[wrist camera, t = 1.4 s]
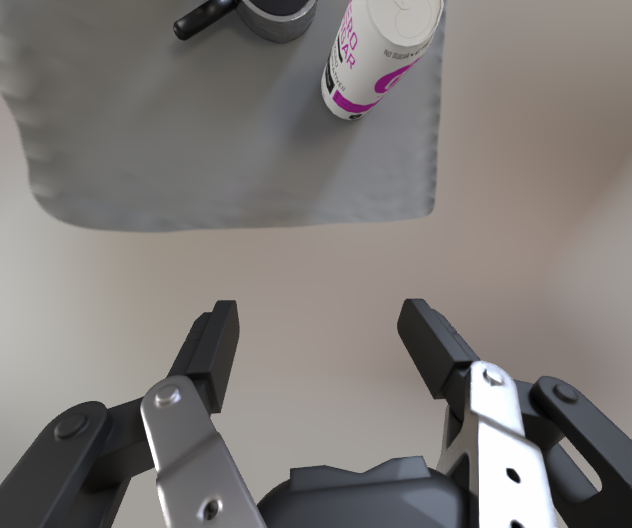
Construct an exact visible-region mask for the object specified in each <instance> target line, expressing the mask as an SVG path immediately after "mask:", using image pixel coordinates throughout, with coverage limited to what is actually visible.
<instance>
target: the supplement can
mask: <svg viewBox="0 0 632 528" xmlns="http://www.w3.org/2000/svg"><path fill="white" fill-rule="evenodd" d="M442 10H443V0H350V2H349V4H348V7H347V10H346V12H345V15H344V18H343V20H342V23H341V26H340V29H339V31H338V34H337V37H336V39H335V42H334V45H333V47H332V50H331V53H330V56H329V58H328V61H327V64H326V66H325V69H324V72H323V77H322V81H321V87H322V95H323V98H324V100H325V103H326V105H327V106H328V108H329V109H330V110H331V111H332V112H333V114H335V115H337V116H338V117H340V118H342V119H347V120H355V119H358V118H361V117H363V116H364V115H365V114H367V113H368V112H369V111H370V110H371V109H372V108H373V107H374V106H375V105H376V104H377V102H378V101H379V100H380V99H381V98H382V97H383V96H384V95H385V94H386V93H387V92H388V91H389V90H390V89H391V88H392V87H393V86H394V85H395V84H396V83H397V81H398V80H399V79H400V78H401V77H402V76H403V75H404V74H405V73H406V72H407V71H408V70H409V69H410V68H411V67H412V66H413V65H414V64H415V63H416V62H417V60H418V59H419V58H420V57H421V56H422V55H423V54H424V53H425V51H426V50H427V48H428V46H429V45H430V43H431V42H432V40H433V37H434V33H435V30H436V27H437V25H438V24H439V21H440V17H441V14H442Z"/></svg>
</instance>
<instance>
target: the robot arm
mask: <svg viewBox="0 0 632 528" xmlns="http://www.w3.org/2000/svg"><path fill="white" fill-rule="evenodd" d="M239 330H240V329H239V319H238V312H237V304H236V301H235V300H221V301H217V302H216V304H215V306H214V309H213V311H212V312H204V313H203V314H202V315H201V316H200V317H199V318H198V319H196V320H195V322H194V324H193V326H192V328H191V330H190V333H189V334H188V336H187V338H186V341H185V342H184V344H183V345H182V348H181V349H180V351H179V354H178V356H177V357H176V360H175V361H174V363H173V366H172V368H171V369H170V372H169V373H168V375H167V377H166V378H165V379H163V380H161V381H160V382H158V383H156V384H155V385H154V386H153V387H152V388H150V390H149V391H148V392H147V393H146V394H145V396H143V397H141V398H139V399H136V400H133V401H130V402H127V403H124V404H121V405H118V406H115V407H112V408H109V409H107V408H106V407H105V405H104V404H103V403H101V402H97V401H89V402H85V403H81V404H78V405H76V406H73V407H71V408H69V409H68V410H66V411H65V412H63V413H61V414H60V415H58V416H57V417H56V418H55V419H53V420H52V421H51V422H50V423H49V424H48V425H47V426H46V427H45V428H44V429H43V431H42V432H41V433H40V434H39V435H38V437H37V438H36V439H35V441H34V442H33V443H32V445H31V446H30V447H29V448H28V450H27V451H26V452H25V454H24V455H23V456H22V458H21V459H20V460H19V462H18V463H17V464H16V465H15V467H14V468H13V469H12V471H11V472H10V473H9V474H8V476H7V477H6V478H5V480H4V481H3V482H2V483H1V485H0V528H111V526H112V524H113V522H114V519H115V516H116V514H117V512H118V509H119V507H120V504H121V502H122V500H123V497H124V495H125V492H126V490H127V487H128V485H129V482H130V480H131V477H133V476H135V475H138V474H140V473H142V472H144V471H147V470H149V469H152V468H154V467H156V470H157V476H158V478H157V479H156V484H157V490H158V494H159V498H160V502H161V506H162V510H163V514H164V518H165V521H166V526H167V528H558V524H557V519H556V515H555V510H554V507H555V508H556V509H557V511H558V512H559V514H560V515H561V517H562V519H563V520H564V522H565V523H566V524H567V526H568V528H632V440H631V439H629V437H628V436H626V434H624V433H623V432H622V431H621V430H620V429H619V428H618V427H617V426H616V425H615V424H614V423H613V422H612V421H611V420H610V419H608V418H607V417H606V416H605V415H604V414H603V413H602V412H601V411H600V410H599V409H598V408H597V407H595V405H594V404H592V402H590V401H589V400H588V399H587V398H586V397H585V396H584V395H583V394H582V393H581V392H580V391H578V390H577V389H575V388H574V387H573V386H571V385H570V384H568V383H566V382H564V381H562V380H560V379H557V378H555V377H550V376H542V377H540V378H539V379H538V380H537V382H536V383H535V384H531V383H527V382H523V381H518V380H515V379H512V378H511V377H510V376H509V375H508V374H507V373H506V372H505V371H504V370H502V369H501V368H499V367H498V366H496V365H494V364H492V363H489V362H485V361H481V360H480V358H479V357H478V356H477V355H476V354H475V353H474V352H473V350H472V349H471V348H470V347H469V346H468V344H467V343H466V342H465V341H464V340H463V338H462V337H461V336H460V335H459V334H457V331H456V330H455V329H454V328H453V327H452V326H451V324H450V323H449V322H448V320H447V319H446V318H445V317H444V316H443V315H441V314H440V313H439V312H437V311H436V310H434V309H431V308H430V306H429V305H428V304H427V303H426V301H425V300H424V299H406V300H405V301H404V304H403V307H402V310H401V313H400V316H399V319H398V323H397V330H398V333H399V335H400V337H401V339H402V341H403V343H404V345H405V347H406V349H407V350H408V352H409V354H410V356H411V358H412V359H413V361H414V363H415V365H416V367H417V369H418V371H419V372H420V374H421V376H422V378H423V380H424V381H425V384H426V385H427V387H428V389H429V391H430V393H431V395H432V397H433V398H434V399H446V401H447V402H448V405H447V407H446V412H445V421H444V431H443V440H442V450H441V455H440V459H439V461H438V464H437V467H436V470H434V469H432V468H429V467H427V465H426V463H425V460H424V458H423V456H413V457H403V458H393V459H390V460H388V461H386V462H384V463H382V464H380V465H378V466H376V467H374V468H372V469H370V470H368V471H366V472H364V473H356V472H352V471H347V470H343V469H338V468H334V467H330V466H325V465H323V466H312V467H302V468H291V469H290V479H289V480H287V481H285V482H283V483H281V484H279V485H278V486H276V487H275V488H273V489H272V490H271V491H270V492H269V493H268V494H266V495H265V497H263V499H262V500H261V501H260V502H259V503H258V504H257V505H256V504H255V502H254V500H253V498H252V496H251V494H250V492H249V490H248V488H247V486H246V484H245V482H244V480H243V478H242V476H241V474H240V472H239V470H238V468H237V466H236V464H235V462H234V460H233V458H232V456H231V454H230V452H229V450H228V448H227V446H226V444H225V442H224V440H223V438H222V437H221V435H220V433H219V432H217V431H216V429H215V427H214V425H213V423H212V421H211V419H210V416H211V414H212V413H221V409H222V404H223V400H224V396H225V392H226V388H227V384H228V380H229V376H230V372H231V368H232V364H233V359H234V356H235V352H236V347H237V343H238V339H239ZM565 436H566V437H567V438H568V439H569V440H570V442H571V443H572V444H573V445H574V446H575V448H576V449H577V450H578V451H579V452H580V454H581V455H582V456H583V457H584V458H585V459H586V460H587V462H588V463H589V464H590V465H591V466H592V467H593V468H594V470H595V471H596V472H597V474H598V475H599V477H600V479H601V482H602V490H601V491H600V492H598V491H597V489H596V488H595V487H594V486H593V485H592V483H591V482H590V481H589V480H588V478H587V477H586V476H585V475H584V474H583V472H582V471H581V470H580V469H579V467H578V466H577V465H576V464H575V463H574V461H573V460H572V459H571V458H570V456H569V455H568V454H567V453H566V452H565V450H564V449H563V448H562V447H561V445H560V444H559V443H558V442H559V441H560V440H562V439H563V438H564V437H565ZM553 505H554V506H553Z"/></svg>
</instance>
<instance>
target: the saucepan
mask: <svg viewBox="0 0 632 528" xmlns="http://www.w3.org/2000/svg"><path fill="white" fill-rule="evenodd" d="M317 2H318V0H209V1H207V2H206V3H204V4H202V5H201V6H199V7H198V8H196V9H195V10H193V11H192V12H190V13H188V14H187V15H185V16H184V17H182V18H181V19H179V20H178V21H176V22H175V23H174V25H173V29H174V32H175V34H176V36H177V37H178V38H179V39H180V40H183V41H186V40H188V39H189V38H191V37H192V36H194V35H195V34H197V33H198V32H200V31H202V30H203V29H205V28H206V27H208V26H209V25H211V24H212V23H214V22H215V21H217V20H219V19H220V18H222V17H223V16H225V15H226V14H228V13H229V12H231V11H232V10H234V9H236V10H237V12H238V14H239V15H240V17H241V19H242V20H243V21H244V22H245V24H246V25H247V26H248V27H249V28H250V29H251V30H252V31H253V32H255V33H256V34H257V35H259V36H261V37H262V38H264V39H267V40H270V41H273V42H288V41H292V40H294V39H296V38H298V37H299V36H301V35H302V34H303V33H304V32H305V31H306V30H307V29H308V27H309V26H310V24H311V22H312V20H313V18H314V15H315V11H316V6H317Z"/></svg>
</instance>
